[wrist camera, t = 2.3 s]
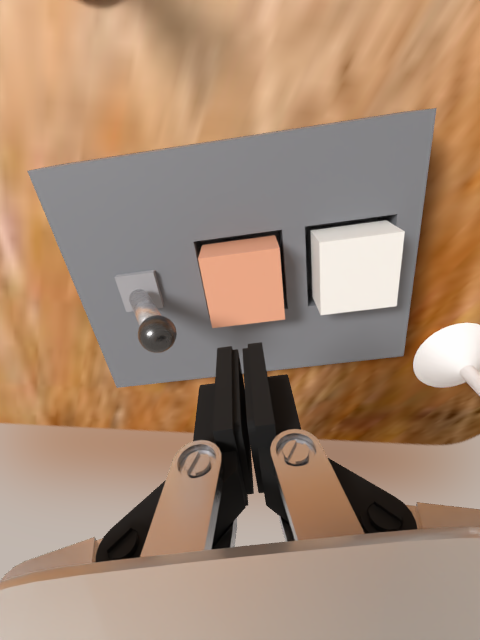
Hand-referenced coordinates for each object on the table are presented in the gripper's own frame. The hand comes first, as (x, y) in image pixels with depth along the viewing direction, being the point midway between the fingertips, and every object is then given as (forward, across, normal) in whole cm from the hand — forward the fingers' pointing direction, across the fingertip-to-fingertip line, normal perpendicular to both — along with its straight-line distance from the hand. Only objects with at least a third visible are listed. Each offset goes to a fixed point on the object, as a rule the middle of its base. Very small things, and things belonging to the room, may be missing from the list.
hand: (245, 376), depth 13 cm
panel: (+13, 0, 0) cm, 13 cm away
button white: (+10, -7, 0) cm, 12 cm away
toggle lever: (+9, +6, 0) cm, 11 cm away
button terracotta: (+10, 0, 0) cm, 10 cm away
